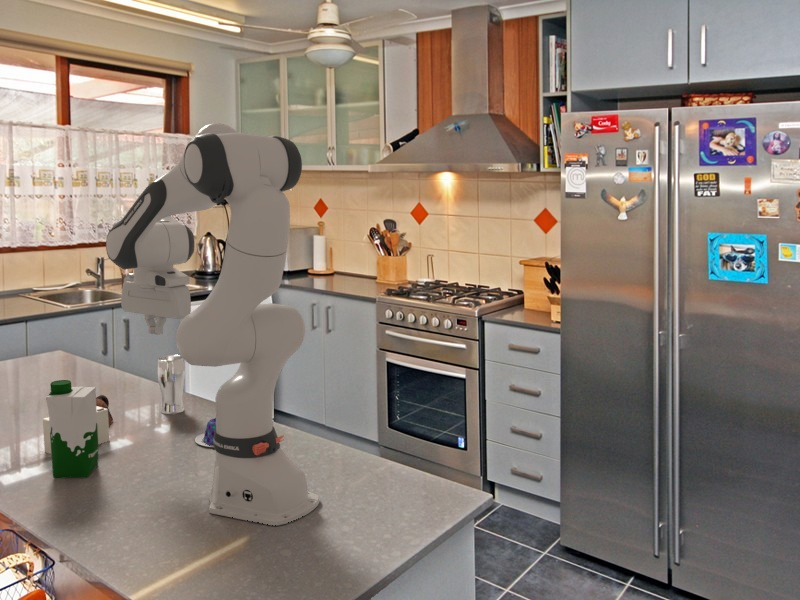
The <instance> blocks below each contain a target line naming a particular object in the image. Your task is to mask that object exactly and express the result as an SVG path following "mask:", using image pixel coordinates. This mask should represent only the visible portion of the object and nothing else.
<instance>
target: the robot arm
mask: <svg viewBox="0 0 800 600" xmlns="http://www.w3.org/2000/svg"><path fill="white" fill-rule="evenodd" d="M302 161H303V159H302V155H301V153H300V150H299V149H298V147H297V146H296V144H295V143H294V142H293V141H291V140H290V139H288V138H285V137H281V136H277V135H270V136H268V135H262V134H253V133H247V132H238V131H237V130H235V129H234V128H232V127H231V126H229V125H226V124H224V123H219V122H218V123H217V122H216V123H215V122H214V123H210V124H207V125H205V126H203V127H201V129H200V130H199V131H198V132H197V133H196V134H195V136H194V137H191V139H190V140H189V142H188V144H187V145H186V147H185V149H184V151H183V153H182V155H181V157H180V159H179V160H178V162H177V163H176V164H175V165H174V166H173V167H172V168H171V169H170V170H169V171H167V172H166V173H165V174H164V175H162V176H160V177H159V178H156V179H155V180H153V181H152V182H151V183H149V184H148V185H147V187H145V188H144V190H143V191H142V193H141V194H140V195H139V197H138V198H137V199H136V200H135V201H134V203H133V204H132V206H131V207H130V208H129V209H128V211H127V212H126V214H125V215H124V216H123V218H122V219H121V220H120V221H118V222H117V223H115V224H114V225H113V226H112V227H111V229H110V230H109V231H108V233H107V236H106V239H105V251H106V254H107V257H108V259H109V260H110V261H111V262H112V263H113V264H115V265H116V266H117V267H118V268H120V269H122V270H123V271H124V270H130V269H133V273H131V272H130V273H127V275H126V276H125V277H124V278H123V284H122V288H121V302H120V303H121V309H122V311H123V312H126V313H131V314H132V313H133V314H140V315H144V320H145V323H146V325H147V326H148V333H149V334H151V335H157V336H158V335H163V334H164V327H165V323H166V321H167V319H173V320H181V321H180V323H179V325H178V327H177V328H176V329H177V330H176V334H175V341H176V342H175V343H176V347H177V350H178V352H179V355H180V356H182V357H183V360H185V362H186V363H188V364H189V365H190V366H197V367H198V366H199V367H214V368H215V367H221V366H229V365H235V364H236V365H237V364H239V366H238V368H237V370H236V372H235V373H234V374H233V375H232V376H231V377H230V378H229V379H227V380H226V381H225V382H224V383H223V384H222V385H221V386H220V387H219V388H218V390H217V392H216V396H215V418H216V429H215V431H214V445H213V446H214V447H213V448H214V450H215V462H214V470H213V479H212V485H211V490H210V494H209V498H208V500H209V503H210V504H209V511H208V512H209V513H210V514H213V515H216V516H217V515H218V516H222V517H228V518H232V517H233V518H232V519H236V520H237V519H238V520H242V521H247V520H248V521H247V522H252V521H253V523H257V522H259V523H258V524H262V523H263V525H267V524H268V526H272V525H273V526H275V525H276V526H282V525H286V524H289V523H292V522H294V521H293V520H295V521H297V520H299V519H301V518H302V516H303V517H304V516H307V515H308V514H310V513H312V511H315V509H316V508H317V507H318V506H319V504H320V500H321V499H320V496H319V495H318V494H316V493H314V492H311V491H309V490H308V482H307V481H308V480H307V477H306V474H305V472H304V471H303V470H302V469H301V468H300V467H299V465H298V464H297V463H295V462H294V461H293V460H292V459H291V458H290V457H289V456H288V455H287V453H286V452H285V451H284V450H283V449H281V444H280V442H283V441H285V439H283V438H284V436H285V435H279V436H278V434H277V431H276V429H275V427H274V426H273V423H274V422H273V421H274V417H273V416H274V412H273V411H274V396H275V395H274V394H275V389H276V385H277V382H278V379H279V376H280V375H281V371H282V370H283V368H284V367H285V365H286V363H287V362H288V361H289V360H290V358H291V357H292V356H293V355H294V354H295V353H296V352H297V351H298V350H300V348H301V346H302V345H303V343H304V340H305V335H306V325H305V322H304V319H303V317H302V316H303V315H301V313H300V312H299V311H298V309H296V307H295V306H292V305H289V304H288V305H287V304H281V303H280V304H279V303H270V302H269V303H262V302H263V301H265V300H267V299H268V298H270V297H271V296H272V295H274V294H275V293H276V292H277V290H279V288H280V286H281V284H282V280H283V275H284V270H285V269H284V268H285V265H286V264H285V263H286V257H287V252H288V245H289V237H290V225H291V224H290V223H291V209H290V201H289V198H288V196H287V195H286V193H284V192H286V191H289V190H291V189H293V188H295V187H296V185H298V182H299V181H300V178H301V175H302V169H303V162H302ZM224 200H226V202H227V203H228V205H229V209H230V221H229V226H228V229H227V230H228V231H227V235H226V243H225V249H224V256H223V261H222V266H221V269H220V274H219V276H218V280H217V281H216V283H215V285H214V287H213V288H212V290H211V292H210V293H209V294H208V296H207V297H206V298H205V299H204V301H203V302H202V303H201V304H200V305H199V306H198V307H197V308H195V309H194V310H193V311H192V307H191V306H192V304H191V302H192V300H191V291H190V289H189V287H188V286H187V285H189V284H190V276H189V275H187V274H186V273H184V272H182V271H180V270H179V269H177V268H176V267H174V266H175V265H176V266H177V265H181V264H186V263H187V262H188V261H189V260H190V259H191V258H192V257H193V255H194V252H195V236H194V233H193V231H192V230H191V229H190V228H189V226H187V225H186V224H184V223H181V222H178V221H177V220H176V219H174V218H173V217H172V216H175V215H180V214H186V213H194V212H201V211H206V210H209V209H211V208H213V207H215V206H217V205H218V204H221V203H222V202H224ZM261 303H262V304H261ZM298 518H299V519H298ZM296 519H297V520H296ZM291 521H292V522H291ZM288 522H289V523H288ZM276 526H275V527H276Z"/></svg>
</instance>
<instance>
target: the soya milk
mask: <svg viewBox="0 0 800 600" xmlns="http://www.w3.org/2000/svg"><path fill="white" fill-rule="evenodd" d="M96 390H97V388H96V387H95V386H90V387H88V386H86V387H85V386H72V382H71V380H68V379H60V380H53V381H51V382H50V392H49V394H48V395H46V396H45V400H46V405H47V410H48V417H49V424H50V440H51V454H50V456H51V465H52V478H53V479H64V478H65V479H68V478H70V479H71V478H72V479H74V478H75V479H76V478H79V479H80V478H84V479H85V478H88V477H90V475H91V474H92V473H93V471H95V469H96V467H98V465H99V460H98V459H99V445H98V429H97V410H96V397H97V392H96Z"/></svg>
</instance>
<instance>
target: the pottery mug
mask: <svg viewBox="0 0 800 600" xmlns="http://www.w3.org/2000/svg"><path fill="white" fill-rule="evenodd" d="M109 405H110V401H109V399H108V397H107V396H105V395H103V394H100V395H99V396H96V406H98V407H102V408H106V409H108V422H109V426H110V425H111V424H112V423H113V421H114V419H113V416H112V414H111V411H110V408H109Z"/></svg>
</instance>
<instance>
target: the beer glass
mask: <svg viewBox="0 0 800 600" xmlns="http://www.w3.org/2000/svg"><path fill="white" fill-rule="evenodd" d="M185 375H186V374H185V362H184V359H183V357H182V356H181V355H180V354H179V355H178V354H171V355H170V354H169V355H167V354H166V355H162V356H160V357H158V358H157V380H158V386H159V390H160V394H161V405H160V406H161V408H160V413H161V414H163V415H177V414H182V413H183V412H184V411H185V408H184V407H185V406H184V404H183V391H184V386H185Z"/></svg>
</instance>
